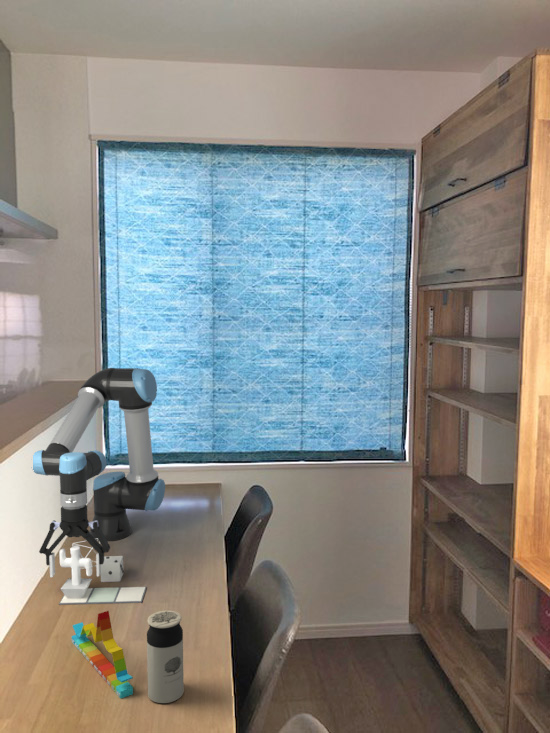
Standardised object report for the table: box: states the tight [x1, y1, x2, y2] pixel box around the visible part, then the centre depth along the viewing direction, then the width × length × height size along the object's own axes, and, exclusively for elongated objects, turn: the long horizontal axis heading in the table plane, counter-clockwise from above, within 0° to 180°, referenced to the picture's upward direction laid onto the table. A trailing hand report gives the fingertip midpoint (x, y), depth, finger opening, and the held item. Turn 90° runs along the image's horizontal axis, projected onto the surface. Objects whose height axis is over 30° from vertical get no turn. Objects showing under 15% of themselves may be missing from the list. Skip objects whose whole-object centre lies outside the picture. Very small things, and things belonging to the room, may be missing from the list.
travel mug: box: [146, 609, 185, 704], centre depth 147 cm, size 8×8×18 cm
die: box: [100, 555, 125, 583], centre depth 208 cm, size 6×6×6 cm
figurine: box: [58, 544, 93, 599], centre depth 195 cm, size 7×9×15 cm
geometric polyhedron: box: [71, 538, 101, 570], centre depth 219 cm, size 10×9×8 cm
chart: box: [71, 610, 134, 699], centre depth 158 cm, size 30×3×15 cm, turn 37°
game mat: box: [58, 586, 147, 606], centre depth 196 cm, size 10×24×1 cm, turn 93°
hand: (75, 575), depth 195 cm, fingers open, 13 cm apart
